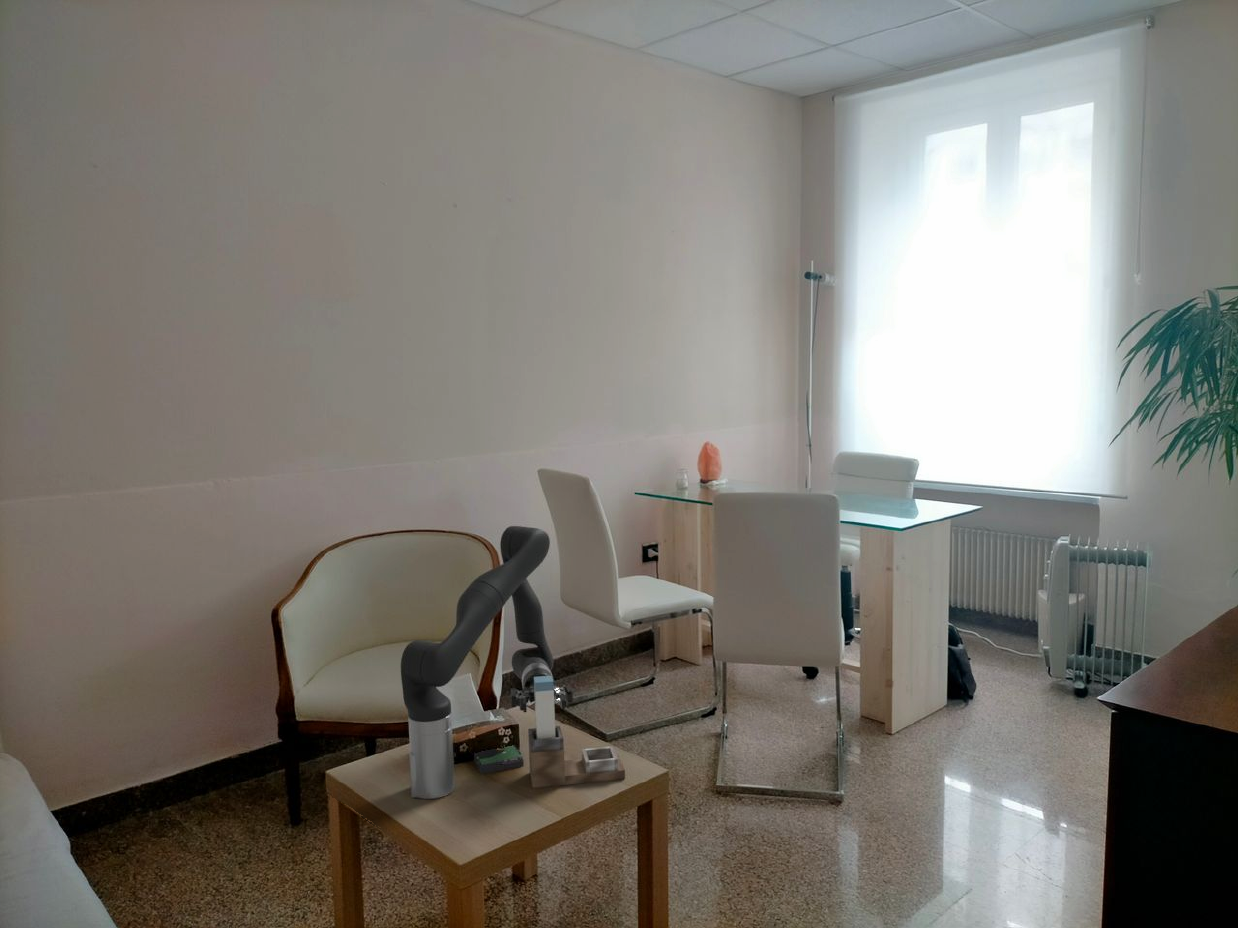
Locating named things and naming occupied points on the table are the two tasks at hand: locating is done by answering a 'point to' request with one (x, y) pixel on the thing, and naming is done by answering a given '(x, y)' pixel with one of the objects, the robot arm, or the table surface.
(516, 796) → the table surface
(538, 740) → the square socket stand
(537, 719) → the plug
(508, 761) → the disk drive
